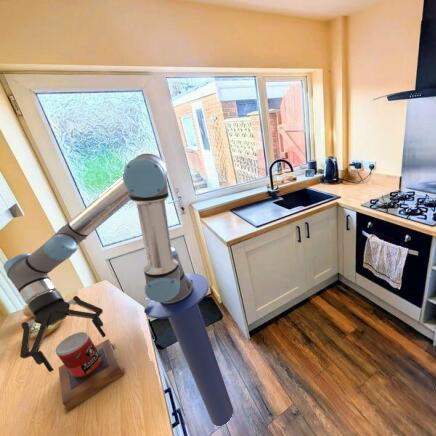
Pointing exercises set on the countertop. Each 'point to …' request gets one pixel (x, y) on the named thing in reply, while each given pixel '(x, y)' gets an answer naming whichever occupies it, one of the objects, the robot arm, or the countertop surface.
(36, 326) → the decorated donut
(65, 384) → the wooden picture frame
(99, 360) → the canned food
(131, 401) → the countertop surface
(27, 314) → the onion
